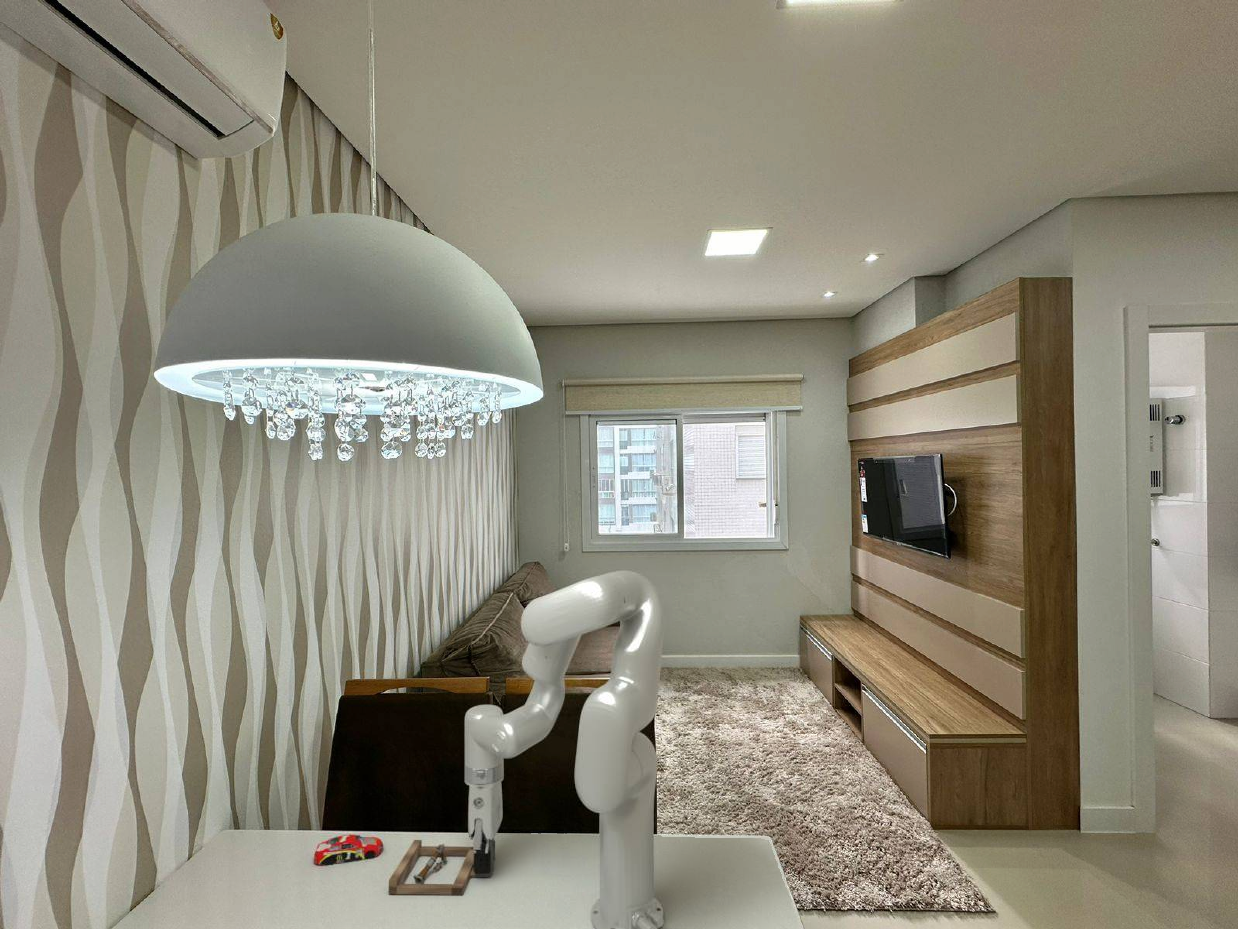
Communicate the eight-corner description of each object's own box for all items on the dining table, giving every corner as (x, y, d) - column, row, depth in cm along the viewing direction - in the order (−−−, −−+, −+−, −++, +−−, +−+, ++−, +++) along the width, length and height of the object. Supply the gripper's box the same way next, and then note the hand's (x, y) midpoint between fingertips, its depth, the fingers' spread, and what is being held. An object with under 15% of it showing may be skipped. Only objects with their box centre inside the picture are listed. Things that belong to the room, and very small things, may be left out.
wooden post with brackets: (452, 858, 136) (446, 842, 135) (427, 895, 130) (420, 878, 128) (445, 856, 137) (439, 840, 136) (419, 892, 130) (412, 875, 129)
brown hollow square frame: (483, 895, 125) (483, 856, 125) (388, 894, 125) (388, 855, 126) (499, 852, 139) (499, 818, 140) (414, 852, 140) (414, 817, 140)
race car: (384, 846, 143) (384, 827, 144) (382, 859, 138) (382, 839, 138) (317, 855, 140) (317, 835, 140) (312, 869, 135) (312, 848, 135)
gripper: (494, 790, 125) (494, 892, 124) (511, 755, 141) (511, 845, 140) (454, 790, 125) (454, 892, 124) (475, 755, 141) (475, 845, 140)
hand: (484, 866), depth 132 cm, fingers closed on brown hollow square frame, 3 cm apart
